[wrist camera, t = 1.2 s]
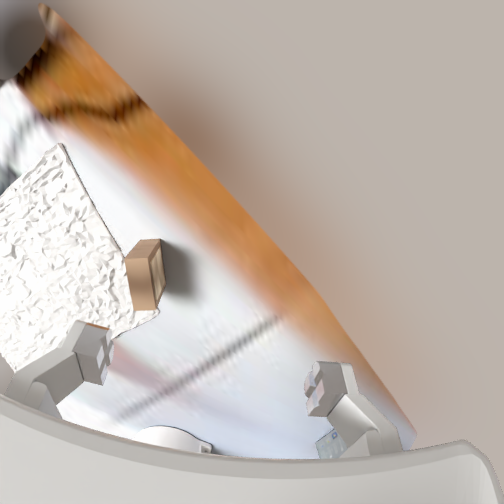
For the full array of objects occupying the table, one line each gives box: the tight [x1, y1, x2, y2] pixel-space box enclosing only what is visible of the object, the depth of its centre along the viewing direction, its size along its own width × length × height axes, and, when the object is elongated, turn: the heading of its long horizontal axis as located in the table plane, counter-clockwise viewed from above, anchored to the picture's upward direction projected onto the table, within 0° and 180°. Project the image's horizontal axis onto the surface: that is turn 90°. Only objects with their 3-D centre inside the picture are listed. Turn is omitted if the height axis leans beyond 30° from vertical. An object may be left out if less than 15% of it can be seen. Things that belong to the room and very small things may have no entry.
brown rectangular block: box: [124, 239, 166, 311], centre depth 41 cm, size 7×3×8 cm, turn 2°
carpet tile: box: [0, 143, 160, 373], centre depth 44 cm, size 39×30×2 cm
